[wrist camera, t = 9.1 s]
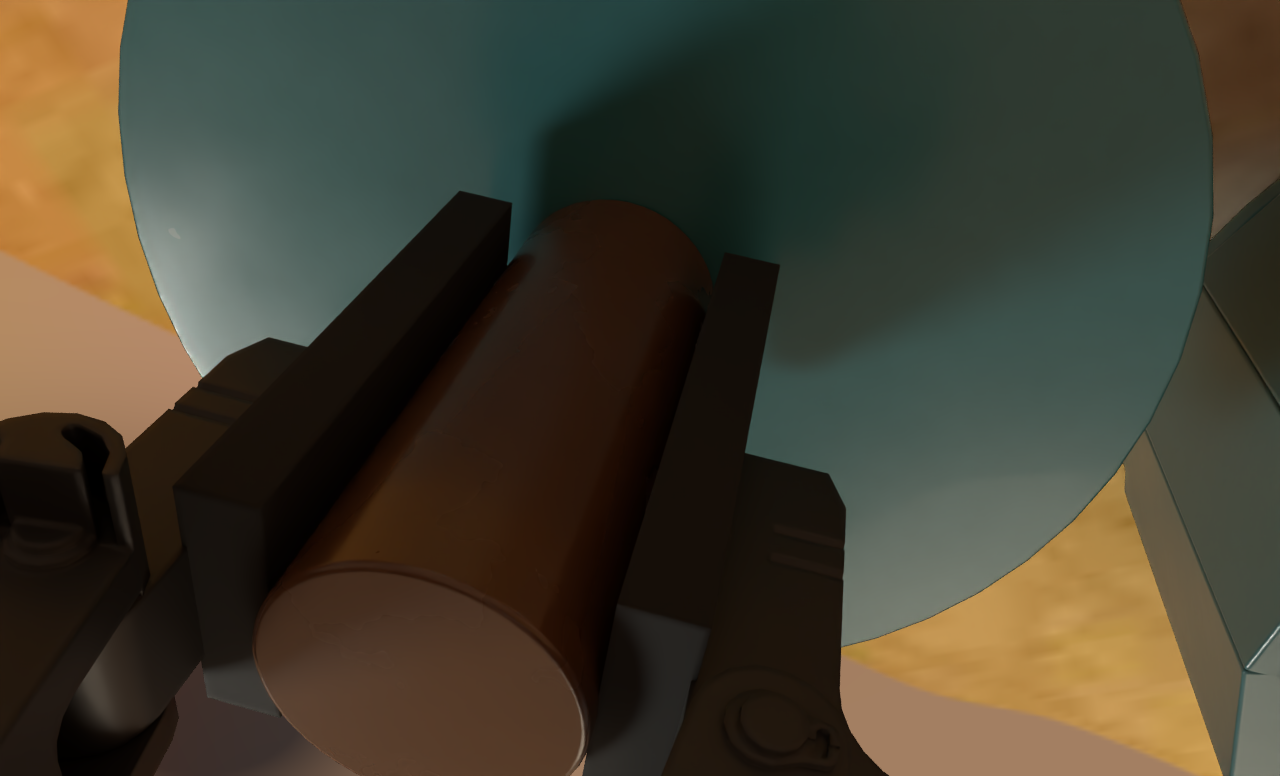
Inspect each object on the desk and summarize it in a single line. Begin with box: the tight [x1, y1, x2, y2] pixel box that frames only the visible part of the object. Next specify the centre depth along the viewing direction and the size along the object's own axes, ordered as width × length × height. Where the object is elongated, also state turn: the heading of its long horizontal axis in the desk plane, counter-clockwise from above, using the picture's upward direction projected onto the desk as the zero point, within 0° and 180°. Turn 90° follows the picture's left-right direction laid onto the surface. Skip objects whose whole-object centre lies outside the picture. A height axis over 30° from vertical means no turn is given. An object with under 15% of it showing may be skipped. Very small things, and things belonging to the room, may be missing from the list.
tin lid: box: [118, 0, 1213, 776], centre depth 12 cm, size 16×16×9 cm
